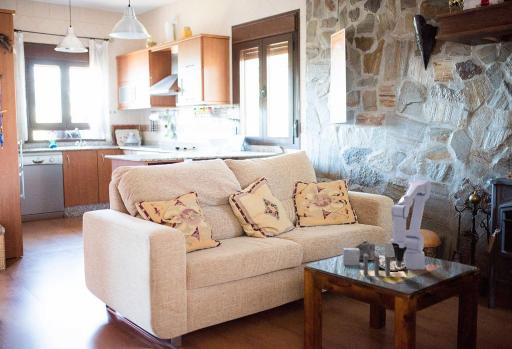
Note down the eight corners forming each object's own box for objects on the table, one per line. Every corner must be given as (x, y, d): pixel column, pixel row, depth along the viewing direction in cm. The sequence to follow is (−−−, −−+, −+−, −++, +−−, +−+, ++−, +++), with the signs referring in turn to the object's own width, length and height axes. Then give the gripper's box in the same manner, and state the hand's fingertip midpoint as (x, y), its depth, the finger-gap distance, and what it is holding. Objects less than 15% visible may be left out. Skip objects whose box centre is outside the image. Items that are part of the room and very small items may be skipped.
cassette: (408, 258, 278) (408, 244, 277) (407, 259, 276) (407, 245, 275) (385, 256, 283) (385, 242, 282) (384, 256, 281) (384, 242, 280)
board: (403, 273, 250) (403, 271, 250) (407, 279, 241) (407, 277, 241) (359, 272, 252) (359, 270, 252) (361, 277, 243) (361, 275, 243)
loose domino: (399, 264, 246) (399, 245, 245) (401, 267, 241) (401, 248, 240) (395, 264, 246) (396, 245, 245) (397, 267, 241) (398, 248, 240)
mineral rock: (348, 260, 274) (348, 241, 273) (352, 256, 283) (353, 237, 282) (373, 263, 268) (373, 244, 268) (377, 258, 278) (377, 239, 277)
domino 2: (388, 273, 247) (388, 254, 246) (389, 276, 242) (390, 256, 241) (384, 273, 247) (385, 254, 246) (386, 276, 242) (386, 256, 241)
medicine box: (358, 265, 265) (358, 248, 264) (359, 267, 261) (359, 250, 260) (342, 264, 266) (342, 247, 265) (343, 267, 262) (343, 249, 261)
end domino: (366, 272, 248) (367, 253, 247) (367, 275, 243) (368, 256, 242) (363, 272, 248) (363, 253, 247) (364, 275, 243) (364, 256, 243)
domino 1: (377, 272, 248) (377, 254, 247) (378, 275, 243) (379, 256, 242) (373, 272, 248) (374, 253, 247) (375, 275, 243) (375, 256, 242)
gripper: (388, 227, 250) (387, 255, 251) (392, 233, 235) (392, 263, 237) (403, 227, 249) (402, 256, 250) (409, 234, 235) (408, 264, 236)
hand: (398, 259), depth 243 cm, fingers closed on loose domino, 5 cm apart
